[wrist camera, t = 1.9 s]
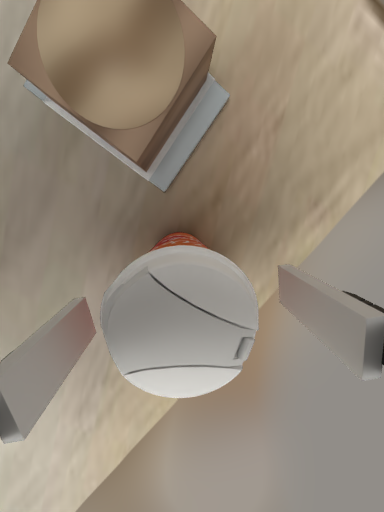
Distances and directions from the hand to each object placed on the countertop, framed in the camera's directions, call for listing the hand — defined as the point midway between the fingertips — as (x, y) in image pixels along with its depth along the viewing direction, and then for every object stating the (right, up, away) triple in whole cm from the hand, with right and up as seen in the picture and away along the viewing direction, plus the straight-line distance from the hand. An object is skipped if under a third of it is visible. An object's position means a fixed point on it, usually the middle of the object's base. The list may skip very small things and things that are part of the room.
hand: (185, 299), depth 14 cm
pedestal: (-5, +18, +5) cm, 20 cm away
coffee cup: (-1, +3, +11) cm, 11 cm away
